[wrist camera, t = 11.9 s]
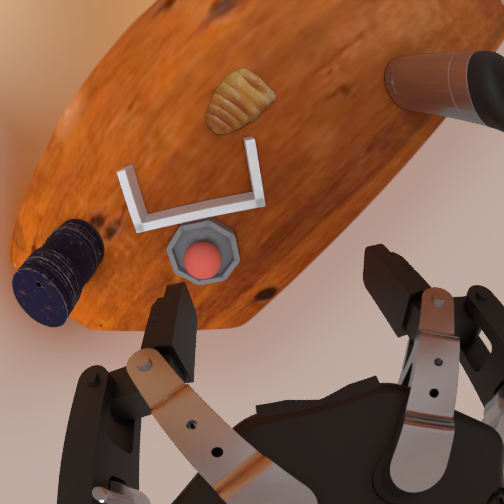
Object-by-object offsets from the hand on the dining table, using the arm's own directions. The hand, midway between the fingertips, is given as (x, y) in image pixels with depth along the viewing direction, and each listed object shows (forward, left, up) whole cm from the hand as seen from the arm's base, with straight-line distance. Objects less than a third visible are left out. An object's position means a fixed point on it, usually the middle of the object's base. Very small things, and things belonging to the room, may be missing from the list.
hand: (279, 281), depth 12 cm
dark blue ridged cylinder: (+29, +7, -28) cm, 41 cm away
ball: (+8, +13, -28) cm, 31 cm away
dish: (+8, +13, -28) cm, 32 cm away
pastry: (-1, -8, -29) cm, 30 cm away
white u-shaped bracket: (+7, +2, -28) cm, 29 cm away
